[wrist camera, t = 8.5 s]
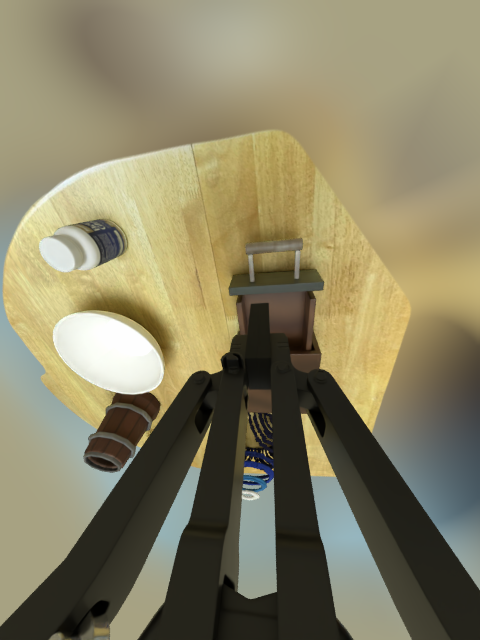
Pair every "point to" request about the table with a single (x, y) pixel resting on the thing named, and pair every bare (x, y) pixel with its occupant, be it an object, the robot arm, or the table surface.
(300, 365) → the cabinet
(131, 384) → the bowl
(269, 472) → the blue openwork dome
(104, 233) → the pill bottle
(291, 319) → the drawer
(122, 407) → the mug
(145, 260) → the table surface
